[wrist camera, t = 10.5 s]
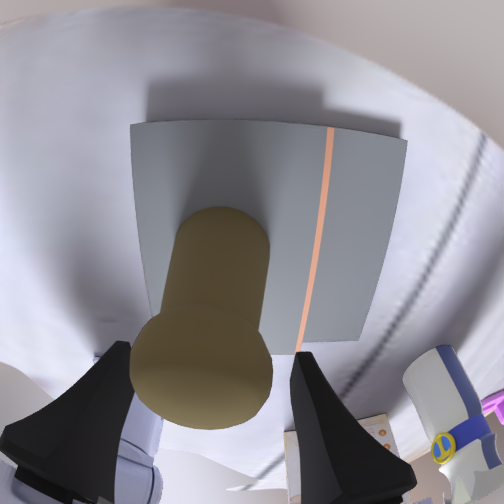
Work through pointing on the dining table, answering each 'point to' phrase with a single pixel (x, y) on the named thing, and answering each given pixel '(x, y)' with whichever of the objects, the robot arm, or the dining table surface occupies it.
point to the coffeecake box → (372, 425)
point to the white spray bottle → (454, 424)
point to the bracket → (495, 405)
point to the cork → (208, 326)
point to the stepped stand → (277, 212)
